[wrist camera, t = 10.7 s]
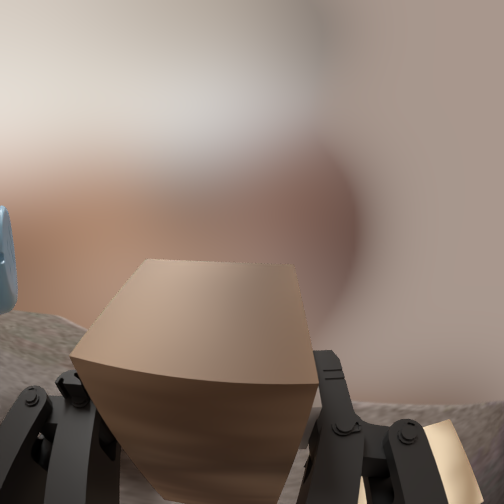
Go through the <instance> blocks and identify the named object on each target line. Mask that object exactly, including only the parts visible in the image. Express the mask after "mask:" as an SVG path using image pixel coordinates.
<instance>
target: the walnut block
mask: <svg viewBox="0 0 504 504" xmlns="http://www.w3.org/2000/svg"><path fill="white" fill-rule="evenodd" d="M69 356H70V359H71V361H72V363H73V365H74V367H75V369H76V371H77V373H78V375H79V377H80V379H81V381H82V383H83V385H84V387H85V389H86V390H87V392H88V394H89V396H90V398H91V400H92V401H93V403H94V405H95V406H96V408H97V410H98V412H99V413H100V415H101V416H102V418H103V420H104V421H105V423H106V424H107V426H108V428H109V429H110V431H111V432H112V434H113V435H114V437H115V438H116V440H117V441H118V442H119V444H120V445H121V447H122V448H123V450H124V451H125V452H126V454H127V455H128V456H129V458H130V459H131V460H132V462H133V463H134V464H135V466H136V467H137V468H138V469H139V471H140V472H141V473H142V474H143V476H144V477H145V478H146V479H147V480H148V482H149V483H150V484H151V485H152V486H153V487H154V489H155V490H156V491H157V492H158V493H159V494H160V495H161V496H162V497H163V499H165V500H169V501H174V502H180V503H185V504H277V501H278V499H279V497H280V494H281V492H282V490H283V487H284V485H285V482H286V480H287V477H288V475H289V472H290V470H291V467H292V464H293V462H294V459H295V456H296V454H297V451H298V448H299V445H300V442H301V439H302V437H303V434H304V431H305V428H306V425H307V421H308V418H309V415H310V412H311V409H312V406H313V402H314V399H315V395H316V392H317V389H318V385H319V381H318V376H317V370H316V365H315V360H314V355H313V350H312V345H311V340H310V335H309V330H308V325H307V321H306V316H305V311H304V307H303V302H302V297H301V293H300V288H299V284H298V280H297V275H296V271H295V266H294V265H292V264H262V263H233V262H208V261H183V260H160V259H146V260H145V261H144V262H143V263H142V264H141V265H140V267H139V268H138V269H137V270H136V271H135V272H134V273H133V275H132V276H131V277H130V278H129V279H128V281H127V282H126V283H125V284H124V285H123V287H122V288H121V289H120V290H119V291H118V293H117V294H116V295H115V296H114V298H113V299H112V300H111V301H110V303H109V304H108V305H107V306H106V308H105V309H104V310H103V311H102V313H101V314H100V315H99V317H98V318H97V319H96V320H95V322H94V323H93V324H92V326H91V327H90V328H89V329H88V331H87V332H86V333H85V335H84V336H83V337H82V339H81V340H80V341H79V343H78V344H77V346H76V347H75V348H74V350H73V351H72V352H71V354H70V355H69Z"/></svg>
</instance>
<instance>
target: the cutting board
mask: <svg viewBox="0 0 504 504" xmlns="http://www.w3.org/2000/svg"><path fill="white" fill-rule="evenodd" d="M423 429H424V431H425V433H426V436H427V438H428V441H429V444H430V447H431V449H432V452H433V455H434V458H435V461H436V464H437V467H438V470H439V473H440V476H441V479H442V482H443V486H444V489H445V492H446V496H447V499H448V503H449V504H480V503H482V502H483V498H482V495H481V492H480V489H479V486H478V484H477V481H476V478H475V476H474V473H473V471H472V468H471V466H470V463H469V461H468V458H467V456H466V453H465V451H464V449H463V446H462V444H461V442H460V440H459V437H458V435H457V433H456V431H455V429H454V427H453V424H452V422H451V420H450V419H449V420H446V421H443V422H439V423H436V424H433V425H429V426H426V427H423ZM309 455H310V453H309ZM358 504H367V500H366V494H365V488H364V482H363V477H362V476H361V482H360V490H359V498H358Z"/></svg>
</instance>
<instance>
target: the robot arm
mask: <svg viewBox="0 0 504 504" xmlns="http://www.w3.org/2000/svg"><path fill="white" fill-rule="evenodd" d="M17 289H18V287H17V272H16V262H15V254H14V244H13V236H12V229H11V223H10V217H9V213H8V211H7V209H6V208H5V207H4V206H0V315H1V314H4V313H7V312H9V311H11V310H12V309H13V308H14V306H15V304H16V301H17V294H18V292H17V291H18V290H17ZM313 355H314V360H315V365H316V370H317V376H318V381H319V385H318V389H317V392H316V395H315V399H314V402H313V406H312V409H311V412H310V415H309V418H308V421H307V425H306V428H305V431H304V434H303V437H302V439H301V442H300V445H299V448H298V449H306V448H307V446H308V443H309V451H310V455H309V457H308V459H307V461H306V463H305V466H304V467H305V472H304V476H303V480H302V484H301V488H300V492H299V495H298V499H297V503H296V504H358V498H359V490H360V482H361V476H362V477H363V482H364V488H365V494H366V500H367V504H449V503H448V499H447V496H446V492H445V489H444V486H443V482H442V479H441V476H440V473H439V470H438V467H437V464H436V461H435V458H434V455H433V452H432V449H431V447H430V444H429V441H428V438H427V436H426V433H425V431H424V429H423V427H422V426H421V425H420V424H419V423H418V422H416V421H414V420H411V419H401V420H398V421H396V422H395V423H394V424H393V425H391V427H388V426H380V425H373V424H369V423H366V422H364V421H362V420H361V418H360V417H359V416H357V415H356V414H355V412H354V410H353V407H352V403H351V399H350V395H349V392H348V388H347V384H346V381H345V379H344V373H343V371H342V367H341V363H340V360H339V358H338V357H337V356H336V355H335V354H334V352H333V351H332V350H324V351H313ZM55 384H56V385H57V387H58V389H59V391H60V392H61V394H62V395H63V396H48V395H47V393H46V392H45V390H44V389H43V388H41V387H40V386H30V387H28V388H26V389H24V390H23V392H22V393H21V394H20V395H19V397H18V398H17V400H16V401H15V403H14V404H13V406H12V408H11V409H10V411H9V412H8V414H7V415H6V417H5V419H4V420H3V422H2V424H1V425H0V504H119V479H120V452H121V445H120V444H119V442H118V441H117V440H116V438H115V437H114V435H113V434H112V432H111V431H110V429H109V428H108V426H107V424H106V423H105V421H104V420H103V418H102V416H101V415H100V413H99V412H98V410H97V408H96V406H95V405H94V403H93V401H92V400H91V398H90V396H89V394H88V392H87V390H86V389H85V387H84V385H83V383H82V381H81V379H80V377H79V375H78V373H77V371H76V370H69V371H67V372H64V373H62V374H61V375H60V376H59V377H58V378H57V380H56V381H55ZM40 432H41V435H40V437H38V435H39V433H40Z"/></svg>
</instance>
